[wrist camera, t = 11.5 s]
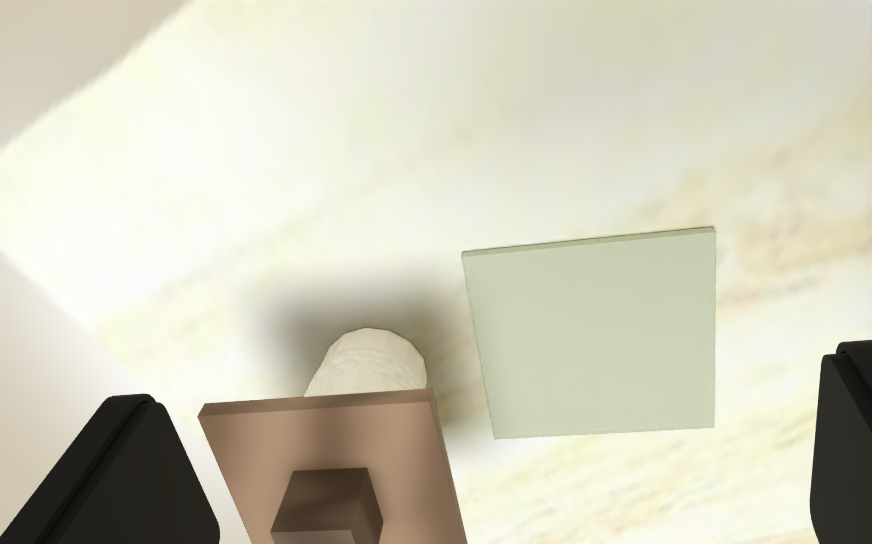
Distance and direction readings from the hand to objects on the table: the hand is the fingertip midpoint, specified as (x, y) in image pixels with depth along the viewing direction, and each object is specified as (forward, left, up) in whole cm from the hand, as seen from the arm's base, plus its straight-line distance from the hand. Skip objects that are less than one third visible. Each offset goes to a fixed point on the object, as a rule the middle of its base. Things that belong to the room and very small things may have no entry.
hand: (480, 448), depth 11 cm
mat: (-2, +20, -30) cm, 36 cm away
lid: (+12, +21, -20) cm, 31 cm away
